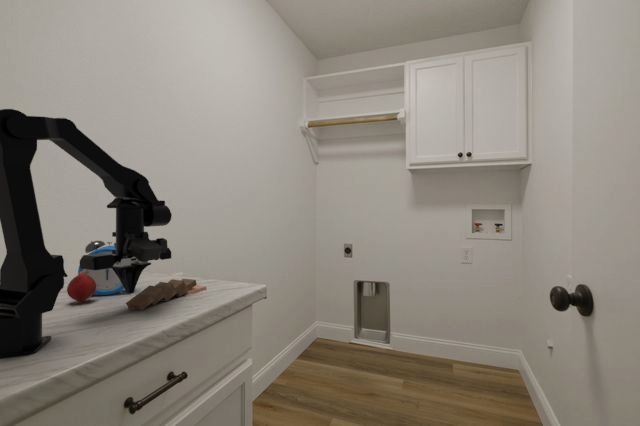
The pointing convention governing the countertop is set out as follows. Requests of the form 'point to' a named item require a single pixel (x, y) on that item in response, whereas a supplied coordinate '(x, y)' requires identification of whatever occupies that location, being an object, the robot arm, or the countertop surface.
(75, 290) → the onion
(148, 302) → the tile
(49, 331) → the countertop surface
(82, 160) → the robot arm
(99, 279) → the alarm clock
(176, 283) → the tile
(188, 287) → the tile
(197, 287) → the tile
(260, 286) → the countertop surface
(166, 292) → the tile
